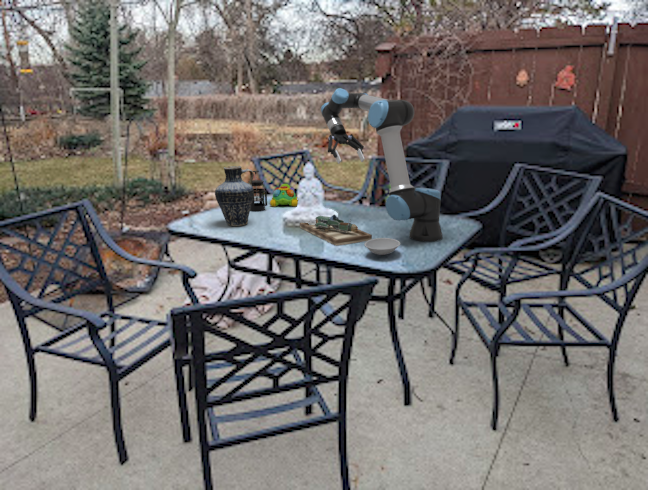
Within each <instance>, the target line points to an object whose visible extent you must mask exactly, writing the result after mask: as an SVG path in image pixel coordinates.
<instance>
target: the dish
mask: <svg viewBox="0 0 648 490" xmlns="http://www.w3.org/2000/svg"><path fill="white" fill-rule="evenodd" d="M363 245H364V247H366V248H367V250H368V251H369V252H370V253H372V254H375V255H379V256H384V255H389V254H392V253H393V252H394V251H396V250H397V248H399V246H400V245H401V242H400V241H399V240H397V239H395V238H388V237H377V238H372V239H371V240H368V241H364V244H363Z"/></svg>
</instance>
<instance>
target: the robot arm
mask: <svg viewBox="0 0 648 490" xmlns="http://www.w3.org/2000/svg"><path fill="white" fill-rule="evenodd" d="M342 109H359V110H364V111H365V112H366V111H367V112H368V113H367V116H368V117H367V119H368V123H369V125H370V126H371V127H372V128H374V129H375V131H376V134H377V135H378V136H380V139H381V144H382V149H383V155H384V159H385V164H386V169H387V173H388V174H387V175H388V179H389V185H390V190H389V192H388V197H387V198H386V200H385V201H386V202H385V209H386V210H385V211H386V213H387V214H388V216H389V217H390V218H391V219H393V220H394V221H407V220H413V222H412V226H411V227H410V230H409V232H408V233H409V238H410V239H411V240H414V241H419V242H431V243H432V242H438V241H441V240H442V239H443V232H442V228H441V224H440V218H441V217H440V215H441V214H440V213H441V204H442V203H441V202H442V198H441V196H442V195H441V191H440V190H438V189H434V188H426V187H416V188H415V186H413V185H412V184H411V181H410V178H409V177H410V176H409V172H408V167H407V162H406V156H405V152H404V147H403V143H402V138H401V131H402V128H403V127H404V126H406V125H409V124H410V123H412V121H413V119H414V118H415V107H414V106H413V104H412V103H411V102H410V101H409V100H404V99H387V98H383V97H377V96H373V95H369V94H368V93H366V92H356V93H355V92H352V93H351V92H349V91H348V90H346V89H344V88H341V87H339V88H336V89H335V91H334V92H333V93H332V95H331V96H330V99H329V101H328V102H325V103H323V105H321V107H320V112H321V115H322V118H323V119H324V121H325V123H326V125H327V128H328V130H329V132H330V134H329V136H328V137H327V140H328V144H327V152H328V153H330V154H331V155H332V157H333V158H334V159H335V160H336V162H337V164H338V165H340V164H341V162H342V159H341V158H342V157H341V156H340V154H339V152H338V150H337V146H338V145H346V146H349V147H351V148H352V149H353V150H355V151H356V154H357V156H358V158H359V160H360V162H361V163H363V162H364V161H365V159H366V158H365V156H364V152H363V149H364V148H365V146H364V145H363V144H362V143H361V142H360V141H359V140H358V139H357V138H355V136H354V135H353V133H350V135H348V134H347V130H346V128H345V126H344V124H343V122H342V120H341V118H340V113H341V112H342ZM333 141H335V144H334V145H333Z"/></svg>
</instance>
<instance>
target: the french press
mask: <svg viewBox="0 0 648 490" xmlns="http://www.w3.org/2000/svg"><path fill="white" fill-rule="evenodd" d="M252 171H253V173H254V175H255V176H257V173H260V171H259V170H252ZM264 182H265V181H264V180H261V179H260V180H259V179H255V180H254V179H253V180H252V187H255V188H253V189H254V194H256V195H254V196H253V201H252V204H251V208H250V212H253V213H254V212H257V213H258V212H264V211H266V207H267V206H268V198H267V197H268V194H267V193H268V191H267V190H265V188H259V187H262V186H264ZM247 183H249V181H248V182H247ZM257 187H258V188H257Z"/></svg>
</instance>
